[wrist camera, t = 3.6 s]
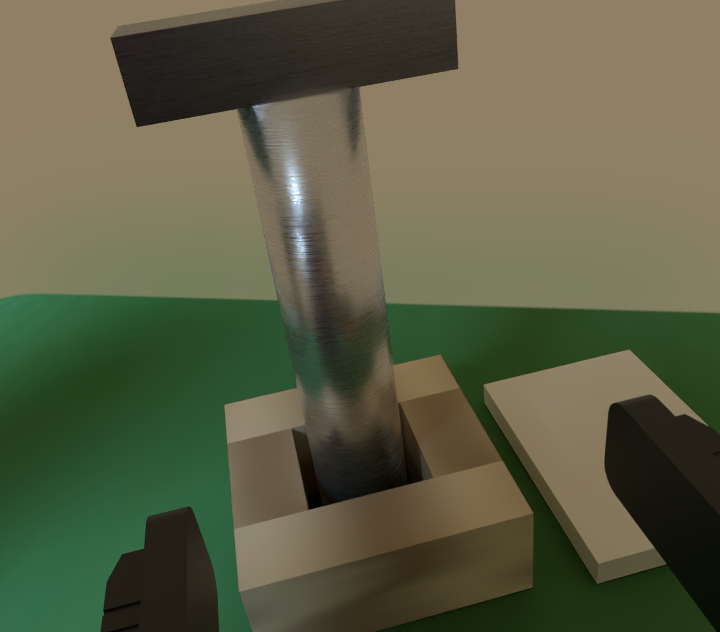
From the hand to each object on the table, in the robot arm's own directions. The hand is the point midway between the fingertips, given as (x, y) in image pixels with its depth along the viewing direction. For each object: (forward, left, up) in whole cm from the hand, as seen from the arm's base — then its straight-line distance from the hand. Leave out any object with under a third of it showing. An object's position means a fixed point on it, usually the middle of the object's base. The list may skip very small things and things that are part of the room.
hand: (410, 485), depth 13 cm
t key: (0, +9, -11) cm, 14 cm away
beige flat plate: (+10, +9, -11) cm, 17 cm away
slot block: (0, +9, -11) cm, 14 cm away
